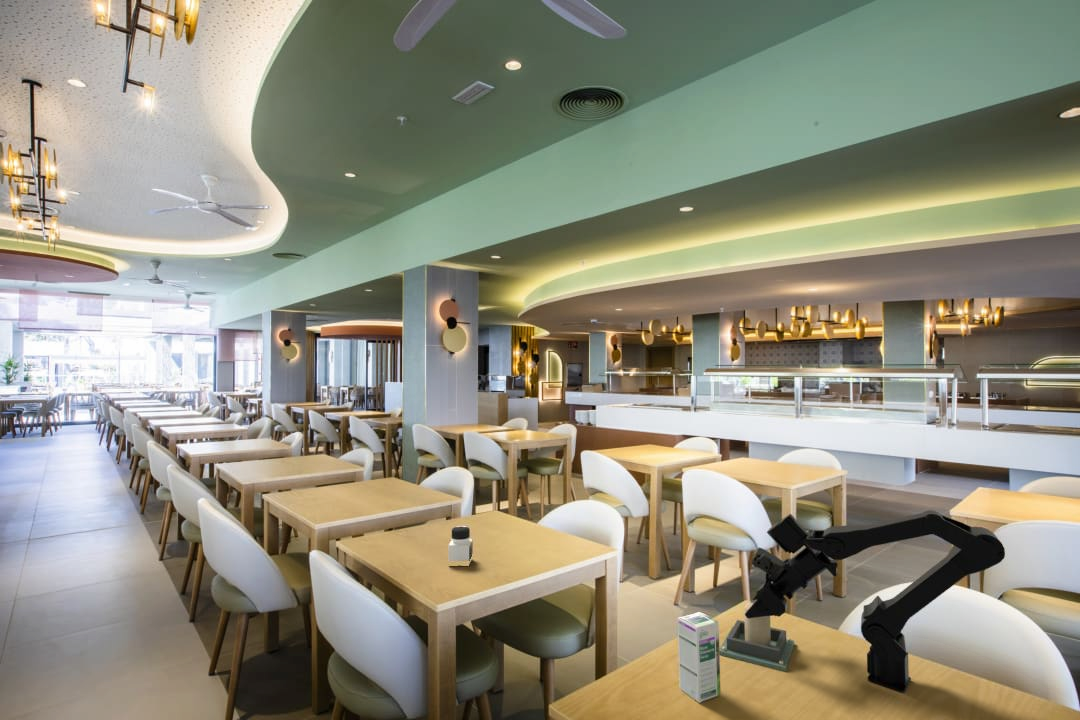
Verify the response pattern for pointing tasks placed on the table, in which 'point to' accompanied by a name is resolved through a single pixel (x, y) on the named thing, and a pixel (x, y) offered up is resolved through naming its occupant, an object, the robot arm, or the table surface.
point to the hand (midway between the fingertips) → (750, 608)
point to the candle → (757, 628)
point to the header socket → (758, 648)
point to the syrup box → (699, 656)
